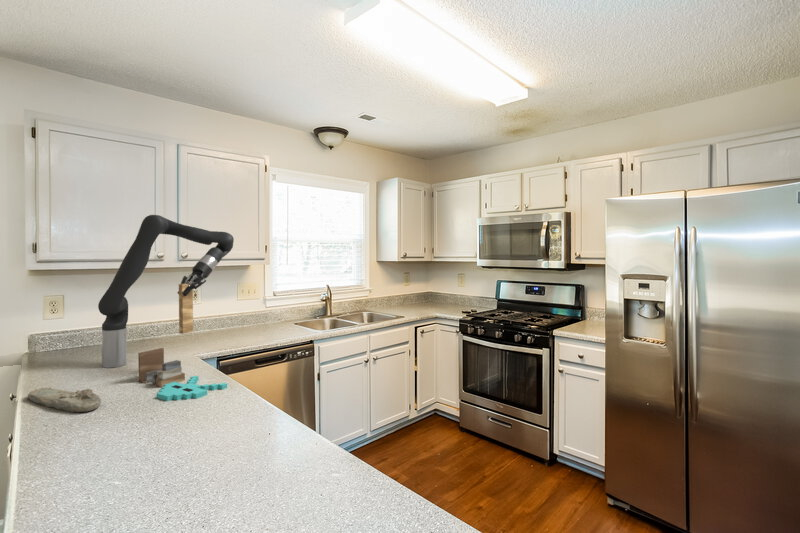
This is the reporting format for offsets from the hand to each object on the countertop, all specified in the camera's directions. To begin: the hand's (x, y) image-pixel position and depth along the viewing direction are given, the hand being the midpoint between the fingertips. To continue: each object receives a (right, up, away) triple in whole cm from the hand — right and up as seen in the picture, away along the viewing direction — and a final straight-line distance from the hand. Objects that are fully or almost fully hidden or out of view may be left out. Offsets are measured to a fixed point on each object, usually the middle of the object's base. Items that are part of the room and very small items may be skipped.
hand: (181, 294), depth 176 cm
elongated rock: (-22, -37, -36) cm, 56 cm away
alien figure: (+15, -37, -22) cm, 45 cm away
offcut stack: (+3, -35, -13) cm, 38 cm away
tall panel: (+1, -17, +3) cm, 18 cm away
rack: (-5, -35, -10) cm, 37 cm away
